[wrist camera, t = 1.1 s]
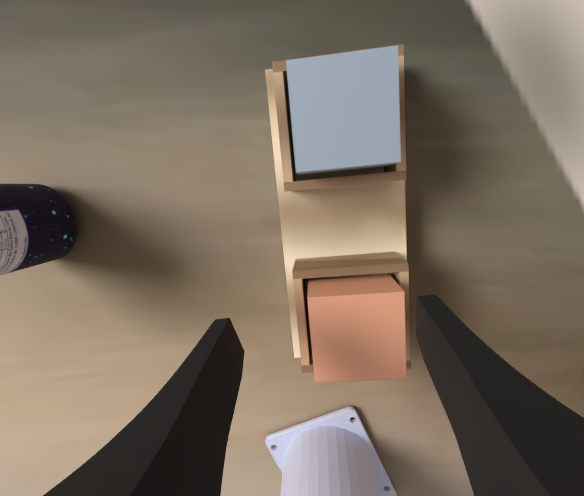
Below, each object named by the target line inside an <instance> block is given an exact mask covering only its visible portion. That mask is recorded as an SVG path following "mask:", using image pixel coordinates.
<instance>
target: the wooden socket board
mask: <svg viewBox="0 0 584 496" xmlns="http://www.w3.org/2000/svg"><path fill="white" fill-rule="evenodd" d="M393 46H397V45H393ZM386 47H390V46H386ZM379 48H383V47H379ZM371 49H375V48H371ZM364 50H368V49H364ZM356 51H360V50H356ZM349 52H353V51H349ZM342 53H346V52H342ZM334 54H338V53H334ZM327 55H331V54H327ZM319 56H323V55H319ZM312 57H316V56H312ZM305 58H309V57H305ZM297 59H301V58H297ZM290 60H294V59H290ZM398 67H399V106H400V145H401V162H399V163H395V164H392V165H388V166H383V167H373V168H363V169H353V170H343V171H333V172H323V173H313V174H303V175H299V174H297V173H296V167H295V156H294V145H293V134H292V123H291V111H290V100H289V89H288V78H287V67H286V60H282V61H275V62H272V69H267V70H265V73H266V83H267V93H268V103H269V113H270V123H271V132H272V142H273V152H274V162H275V172H276V182H277V191H278V201H279V211H280V221H281V231H282V241H283V250H284V260H285V270H286V280H287V290H288V300H289V309H290V319H291V329H292V339H293V349H294V358H299V357H301V367H302V373H309V372H314V368H313V357H312V346H311V335H310V323H309V312H308V301H307V294H308V280H316V279H331V278H346V277H360V276H375V275H391V276H392V278H393V279H394V280H395V281H396V282H397V284H398V285H399V286H400V287H401V288H402V289H403V291H404V298H405V337H406V369H409V368H411V356H410V312H409V267H408V262H407V248H406V206H405V180H407V178H406V134H405V89H404V45H403V44H401V45H398Z"/></svg>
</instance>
